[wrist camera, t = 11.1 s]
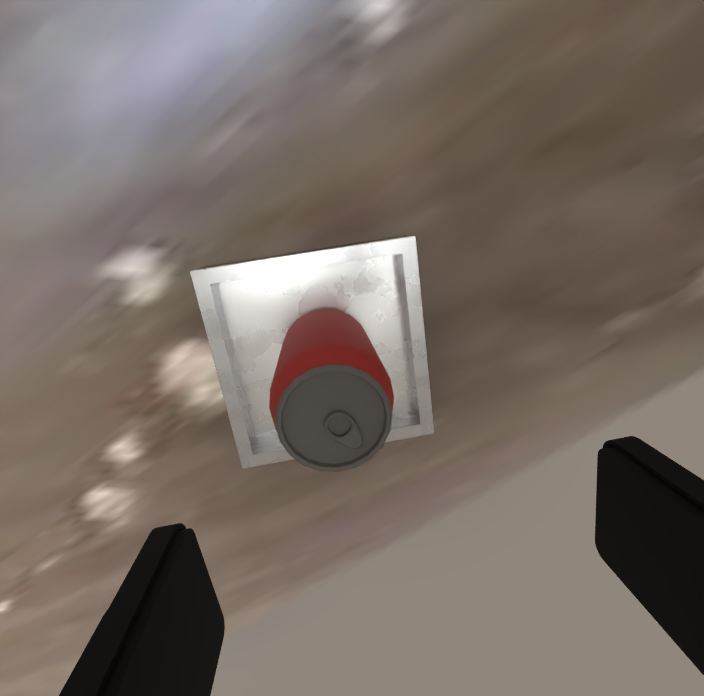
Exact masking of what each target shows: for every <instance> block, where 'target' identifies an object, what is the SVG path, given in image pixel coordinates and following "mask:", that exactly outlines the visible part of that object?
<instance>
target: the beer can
mask: <svg viewBox="0 0 704 696" xmlns="http://www.w3.org/2000/svg"><path fill="white" fill-rule="evenodd" d="M393 404H394V394H393V389H392V384H391V379H390V377H389V375H388V373H387V371H386V369H385V367H384V366H383V364H382V362H381V360H380V358H379V356H378V354H377V352H376V351H375V349H374V347H373V345H372V343H371V341H370V339H369V337H368V336H367V334H366V332H365V330H364V329H363V327H362V325H361V324H360V323H359V322H358V321H357V320H355V319H354V318H353V317H352V316H351V315H349V314H346V313H344V312H342V311H339V310H334V309H319V310H315V311H311V312H308V313H307V314H305V315H303V316H302V317H300V318H298V319H297V320H296V321H295V322H294V323H293V325H292V326H291V327H290V328H289V329H288V331H287V334H286V336H285V339H284V341H283V344H282V348H281V351H280V355H279V359H278V362H277V366H276V369H275V373H274V377H273V380H272V384H271V387H270V400H269V409H270V413H271V416H272V419H273V422H274V426H275V429H276V431H277V434H278V437H279V440H280V443H281V444H282V446H283V447H284V448H285V450H286V451H287V452H288V454H289V455H290V456H291V457H293V458H294V459H295V460H297V461H298V462H300V463H301V464H303V465H304V466H307V467H310V468H313V469H316V470H319V471H337V472H338V471H343V470H347V469H351V468H355V467H357V466H359V465H360V464H362V463H364V462H366V461H368V460H369V459H371V458H372V457H373V456H374V455H375V454H376V453H377V452H378V451H379V450H380V449H381V448H382V447H383V445H384V443H385V441H386V439H387V437H388V435H389V433H390V429H391V422H392V411H393Z"/></svg>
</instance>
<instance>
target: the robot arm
mask: <svg viewBox="0 0 704 696" xmlns="http://www.w3.org/2000/svg"><path fill="white" fill-rule="evenodd" d="M595 544H596V548H597V550H598V552H599V554H600V556H601V557H602V559H603V560H604V561H605V562H606V564H607V565H608V566H609V567H610V568H611V569H612V570H613V572H614V573H615V574H616V575H617V576H618V577H619V579H620V580H621V581H622V582H623V583H624V584H625V585H626V587H627V588H628V589H629V590H630V591H631V592H632V593H633V595H634V596H635V597H636V598H637V599H638V600H639V602H640V603H641V604H642V605H643V606H644V607H645V608H646V609H647V611H648V612H649V613H650V614H651V615H652V616H653V618H654V619H655V620H656V621H657V622H658V623H659V625H660V626H661V627H662V628H663V629H664V630H665V631H666V632H667V634H668V635H669V636H670V637H671V638H672V639H673V641H674V642H675V643H676V644H677V645H678V646H679V647H680V649H681V650H682V651H683V652H684V653H685V654H686V656H687V657H688V658H689V659H690V660H691V661H692V662H693V663H694V665H695V666H696V667H697V668H698V669H699V670H700V672H701V673H702V674H703V675H704V480H702V479H701V478H699V477H698V476H696V475H695V474H693V473H691V472H690V471H688V470H687V469H685V468H684V467H682V466H681V465H679V464H678V463H676V462H674V461H673V460H671V459H670V458H668V457H667V456H665V455H664V454H662V453H660V452H659V451H657V450H655V449H654V448H653V447H651V446H650V445H648V444H647V443H645V442H643V441H642V440H640V439H639V438H637V437H633V436H629V437H624V438H619V439H614V440H609V441H606V442H605V443H604V445H603V448H602V449H600V450H599V452H598V464H597V495H596V527H595ZM224 629H225V625H224V617H223V614H222V611H221V608H220V605H219V602H218V599H217V596H216V594H215V591H214V588H213V585H212V582H211V579H210V576H209V573H208V570H207V568H206V565H205V562H204V559H203V556H202V553H201V550H200V547H199V545H198V542H197V539H196V536H195V533H194V531H193V530H192V529H190V528H189V529H186V527H185V526H184V525H183V524H181V523H179V524H174V525H168V526H163V527H158V528H155V529H153V530H152V531H151V533H150V534H149V536H148V538H147V540H146V542H145V543H144V545H143V547H142V549H141V551H140V553H139V554H138V556H137V558H136V560H135V562H134V563H133V565H132V567H131V569H130V571H129V572H128V574H127V576H126V578H125V580H124V582H123V583H122V585H121V587H120V589H119V591H118V592H117V594H116V596H115V598H114V600H113V602H112V603H111V605H110V607H109V609H108V610H107V611H106V613H105V614H104V616H103V617H102V619H101V621H100V623H99V625H98V626H97V628H96V630H95V632H94V634H93V635H92V637H91V639H90V641H89V643H88V644H87V646H86V648H85V650H84V652H83V653H82V655H81V657H80V659H79V661H78V662H77V664H76V666H75V668H74V670H73V671H72V673H71V675H70V677H69V679H68V680H67V682H66V684H65V686H64V688H63V689H62V691H61V693H60V695H59V696H210V694H211V690H212V685H213V681H214V677H215V672H216V668H217V664H218V659H219V655H220V651H221V646H222V642H223V637H224Z"/></svg>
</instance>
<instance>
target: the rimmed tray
mask: <svg viewBox="0 0 704 696" xmlns="http://www.w3.org/2000/svg"><path fill="white" fill-rule="evenodd" d="M190 273H191V276H192V280H193V284H194V288H195V292H196V295H197V299H198V303H199V307H200V310H201V314H202V318H203V322H204V325H205V329H206V333H207V337H208V340H209V344H210V348H211V352H212V355H213V359H214V363H215V367H216V370H217V374H218V378H219V382H220V386H221V389H222V393H223V397H224V401H225V404H226V408H227V412H228V416H229V419H230V423H231V427H232V431H233V434H234V438H235V442H236V446H237V449H238V453H239V457H240V461H241V464H242V468H243V469H244V468H249V467H254V466H260V465H265V464H271V463H276V462H281V461H287V460H292V459H294V458H293V457H291V456H290V455H289V454H288V452H287V451H286V450H285V448H284V447H283V446H282V444H281V443H280V440H279V437H278V434H277V431H276V429H275V426H274V422H273V419H272V416H271V413H270V409H269V400H270V387H271V384H272V380H273V377H274V373H275V369H276V366H277V362H278V359H279V355H280V351H281V348H282V344H283V341H284V339H285V336H286V334H287V331H288V329H289V328H290V327H291V326H292V325H293V323H294V322H295V321H296V320H297V319H298V318H300V317H302V316H303V315H305V314H307V313H308V312H311V311H315V310H319V309H334V310H339V311H342V312H344V313H346V314H349V315H351V316H352V317H353V318H354V319H355V320H357V321H358V322H359V323H360V324H361V325H362V327H363V329H364V330H365V332H366V334H367V336H368V337H369V339H370V341H371V343H372V345H373V347H374V349H375V351H376V352H377V354H378V356H379V358H380V360H381V362H382V364H383V366H384V367H385V369H386V371H387V373H388V375H389V377H390V379H391V384H392V389H393V394H394V404H393V411H392V422H391V429H390V433H389V435H388V437H387V439H386V441H385V442H390V441H395V440H400V439H406V438H411V437H417V436H422V435H427V434H433V433H434V425H433V415H432V405H431V394H430V384H429V373H428V363H427V352H426V342H425V332H424V321H423V311H422V300H421V290H420V280H419V269H418V259H417V248H416V238H415V236H400V237H393V238H387V239H381V240H374V241H368V242H361V243H355V244H349V245H342V246H336V247H330V248H323V249H317V250H310V251H304V252H298V253H291V254H285V255H279V256H272V257H266V258H259V259H253V260H247V261H240V262H234V263H228V264H221V265H215V266H208V267H202V268H199V269H196V270H193V271H190Z"/></svg>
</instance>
